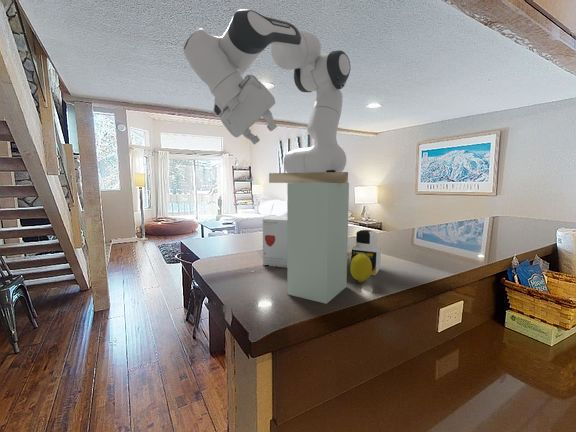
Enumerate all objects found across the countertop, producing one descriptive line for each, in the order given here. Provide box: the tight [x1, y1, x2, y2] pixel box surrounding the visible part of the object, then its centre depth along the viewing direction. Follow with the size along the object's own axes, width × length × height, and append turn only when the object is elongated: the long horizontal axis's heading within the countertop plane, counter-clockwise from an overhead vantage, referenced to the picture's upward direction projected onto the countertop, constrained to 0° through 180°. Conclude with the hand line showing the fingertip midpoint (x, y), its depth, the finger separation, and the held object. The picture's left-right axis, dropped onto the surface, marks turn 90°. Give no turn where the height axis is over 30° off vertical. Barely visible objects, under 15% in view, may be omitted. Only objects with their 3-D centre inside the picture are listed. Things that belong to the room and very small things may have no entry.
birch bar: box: [268, 171, 349, 184], centre depth 69 cm, size 2×20×2 cm, turn 58°
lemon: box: [349, 253, 372, 283], centre depth 76 cm, size 6×6×8 cm
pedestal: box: [286, 182, 350, 305], centre depth 69 cm, size 12×10×26 cm
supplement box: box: [262, 215, 287, 269], centre depth 94 cm, size 9×9×15 cm
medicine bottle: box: [351, 229, 382, 276], centre depth 86 cm, size 7×7×12 cm
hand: (265, 136), depth 80 cm, fingers open, 8 cm apart
